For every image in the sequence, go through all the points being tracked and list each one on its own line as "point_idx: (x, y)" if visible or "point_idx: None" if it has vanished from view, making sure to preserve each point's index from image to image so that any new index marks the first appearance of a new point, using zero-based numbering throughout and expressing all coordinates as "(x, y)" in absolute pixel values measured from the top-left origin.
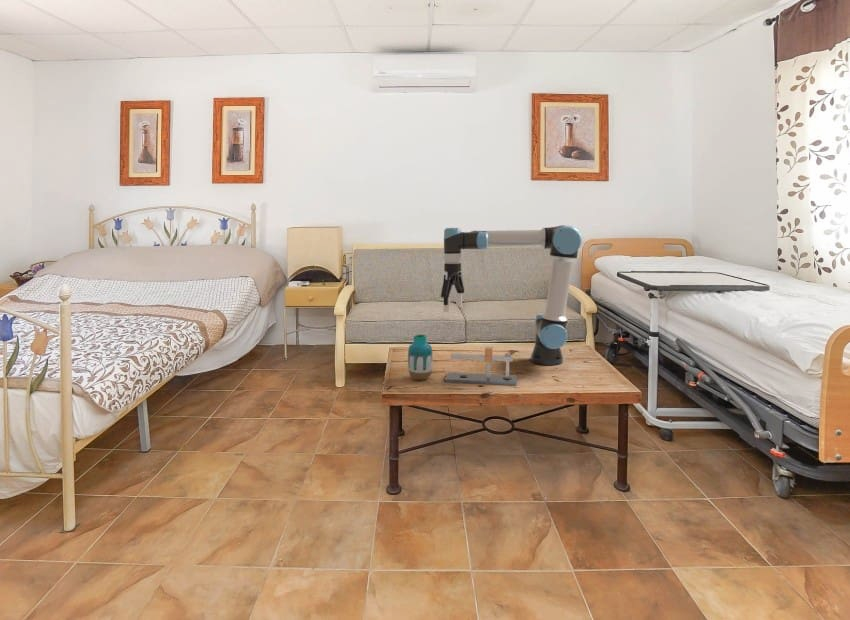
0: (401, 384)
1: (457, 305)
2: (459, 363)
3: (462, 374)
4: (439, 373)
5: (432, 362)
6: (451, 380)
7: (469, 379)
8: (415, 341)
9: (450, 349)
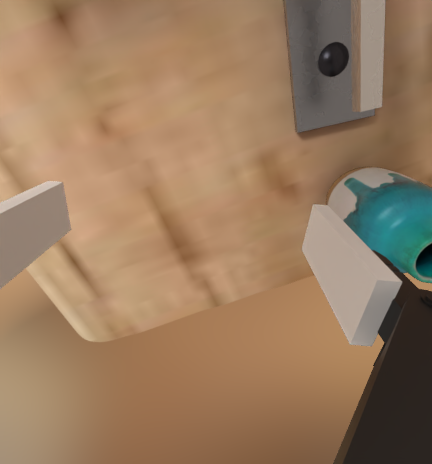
0: None
1: (62, 223)
2: (162, 140)
3: (310, 73)
4: (287, 163)
5: (377, 172)
6: None
7: None
8: None
9: None
